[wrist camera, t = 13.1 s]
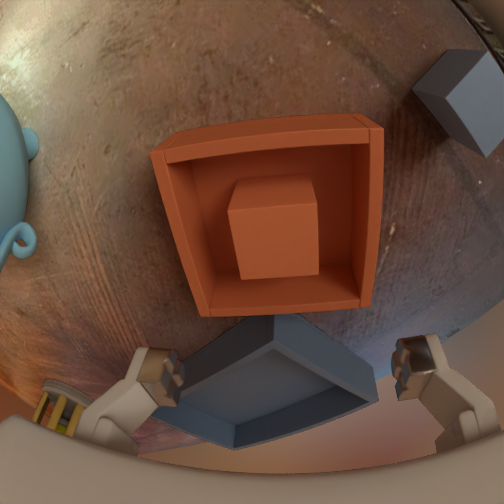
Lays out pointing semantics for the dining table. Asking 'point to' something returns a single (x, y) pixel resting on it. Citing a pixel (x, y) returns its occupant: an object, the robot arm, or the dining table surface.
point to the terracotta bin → (268, 164)
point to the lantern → (62, 406)
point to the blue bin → (268, 383)
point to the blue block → (466, 98)
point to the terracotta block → (275, 226)
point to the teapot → (15, 184)
